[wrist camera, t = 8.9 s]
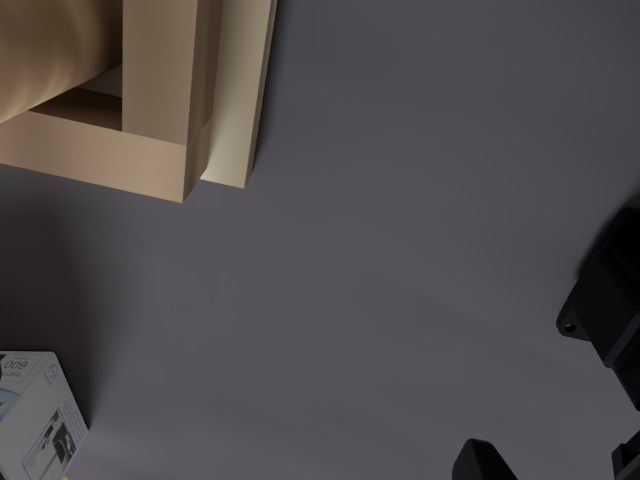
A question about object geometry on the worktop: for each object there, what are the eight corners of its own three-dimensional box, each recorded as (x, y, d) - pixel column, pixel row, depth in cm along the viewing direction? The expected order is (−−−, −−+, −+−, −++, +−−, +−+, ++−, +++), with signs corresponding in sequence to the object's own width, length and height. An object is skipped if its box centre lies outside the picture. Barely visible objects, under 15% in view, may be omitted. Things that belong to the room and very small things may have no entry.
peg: (139, 80, 18) (-6, 166, 11) (36, 57, 18) (-177, 129, 11) (141, -35, 16) (-31, -19, 9) (27, -61, 16) (-238, -66, 9)
